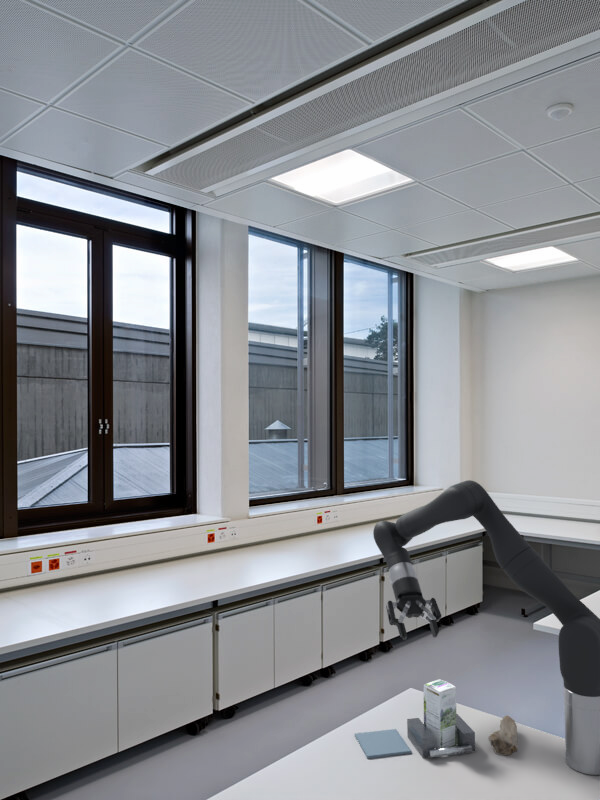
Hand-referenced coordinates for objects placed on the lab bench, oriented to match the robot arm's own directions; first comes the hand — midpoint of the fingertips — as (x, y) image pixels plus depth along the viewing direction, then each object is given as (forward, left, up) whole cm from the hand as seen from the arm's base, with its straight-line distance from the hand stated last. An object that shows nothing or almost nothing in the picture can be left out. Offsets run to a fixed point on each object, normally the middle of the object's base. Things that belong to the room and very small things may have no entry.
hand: (420, 637), depth 168 cm
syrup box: (0, +12, -22) cm, 25 cm away
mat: (+14, +9, -22) cm, 28 cm away
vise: (0, +12, -22) cm, 25 cm away
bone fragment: (-16, +14, -23) cm, 31 cm away
